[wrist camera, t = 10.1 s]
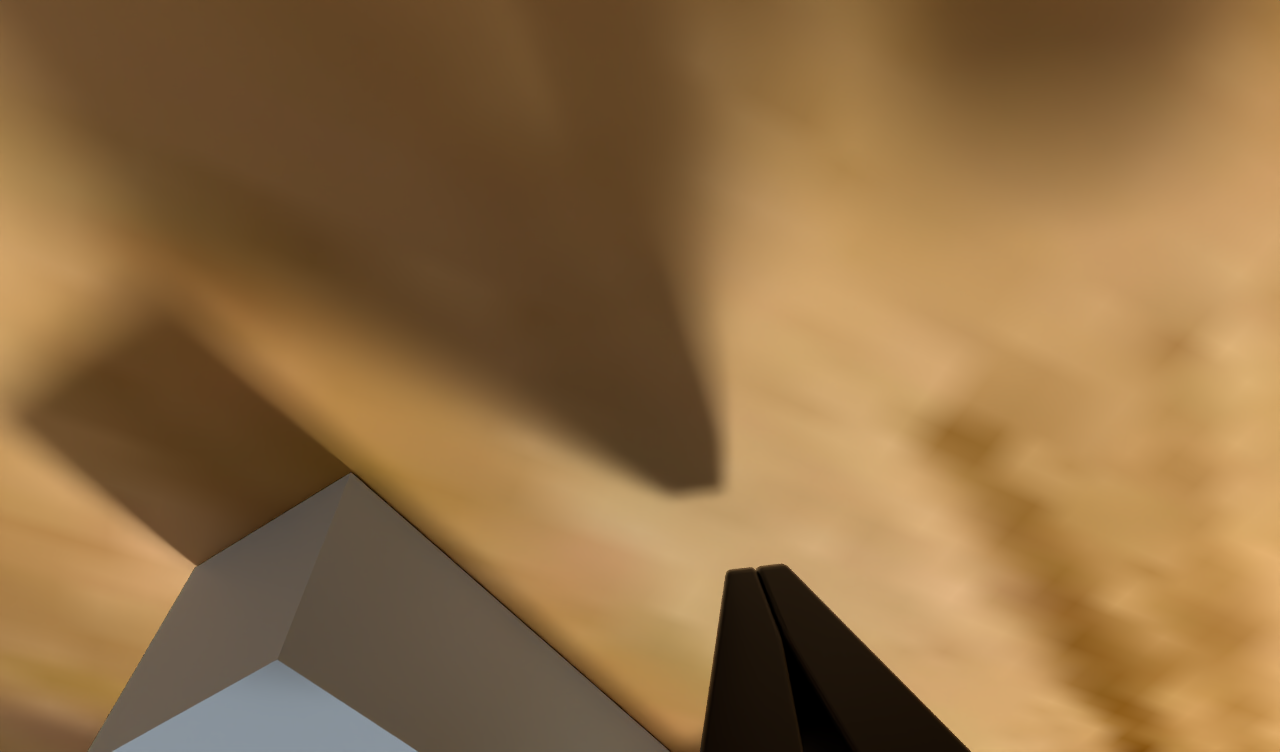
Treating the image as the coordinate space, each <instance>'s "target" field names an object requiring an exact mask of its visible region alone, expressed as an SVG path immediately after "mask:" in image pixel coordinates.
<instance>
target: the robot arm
mask: <svg viewBox="0 0 1280 752" xmlns="http://www.w3.org/2000/svg"><path fill="white" fill-rule="evenodd" d="M700 752H971V751H970V750H969V749H968V748H967V747H966V746H965V745H964V744H963V743H962V742H961V741H960V740H959V739H958V738H957V737H956V736H955V735H954V734H953V733H952V732H951V731H950V730H949V729H948V728H947V727H946V726H945V725H944V724H943V723H942V722H941V721H940V720H939V719H938V718H937V717H936V716H935V715H934V714H933V713H932V712H931V711H930V710H929V709H928V708H927V707H926V706H925V705H924V704H923V703H922V702H921V701H920V700H919V699H918V698H917V696H916V695H915V694H914V693H913V692H912V691H911V690H910V689H909V688H908V687H907V686H906V685H905V684H904V683H903V682H902V681H901V680H900V679H899V678H898V677H897V676H896V675H895V674H894V673H893V672H892V671H891V670H890V669H889V668H888V667H887V666H886V665H885V664H884V663H883V662H882V661H881V660H880V659H879V658H878V657H877V656H876V655H875V654H874V653H873V652H872V651H871V650H870V649H869V648H868V647H867V646H866V645H865V644H864V643H863V642H862V641H861V640H860V639H859V638H858V637H857V636H856V635H855V634H854V633H853V632H852V631H851V630H850V629H849V628H848V627H847V626H846V625H845V624H844V623H843V622H842V621H841V620H840V619H839V618H838V617H837V616H836V615H835V614H834V613H833V612H832V611H831V610H830V609H829V608H828V607H827V606H826V605H825V604H824V603H823V602H822V601H821V600H820V599H819V598H818V596H817V595H816V594H815V593H814V592H813V591H812V590H811V589H810V588H809V587H808V586H807V585H806V584H805V583H804V582H803V581H802V580H801V579H800V578H799V577H798V576H797V575H796V574H795V573H794V572H793V571H792V570H791V569H790V568H789V567H788V566H786V565H784V564H774V565H766V566H760V567H758V568H757V569H756V570H755V569H754V568H751V567H749V568H740V569H732V570H728V571H727V573H726V576H725V582H724V589H723V596H722V603H721V609H720V616H719V623H718V630H717V637H716V644H715V651H714V658H713V665H712V672H711V679H710V686H709V693H708V700H707V707H706V714H705V720H704V727H703V734H702V741H701V748H700Z"/></svg>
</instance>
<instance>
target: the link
mask: <svg viewBox="0 0 1280 752" xmlns="http://www.w3.org/2000/svg"><path fill="white" fill-rule="evenodd" d="M87 752H670V751H669V750H668V749H666V748H665V747H664V746H663V745H662V744H661V743H660V742H658V741H657V740H656V739H655V738H654V737H653V736H652V735H650V734H649V733H648V732H647V731H646V730H645V729H644V728H642V727H641V726H640V725H639V724H638V723H637V722H636V721H634V720H633V719H632V718H631V717H630V716H629V715H628V714H626V713H625V712H624V711H623V710H622V709H621V708H620V707H618V706H617V705H616V704H615V703H614V702H613V701H612V700H610V699H609V698H608V697H607V696H606V695H605V694H604V693H603V692H601V691H600V690H599V689H598V688H597V687H596V686H595V685H593V684H592V683H591V682H590V681H589V680H588V679H587V678H585V677H584V676H583V675H582V674H581V673H580V672H579V671H577V670H576V669H575V668H574V667H573V666H572V665H571V664H569V663H568V662H567V661H566V660H565V659H564V658H563V657H561V656H560V655H559V654H558V653H557V652H556V651H555V650H553V649H552V648H551V647H550V646H549V645H548V644H547V643H545V642H544V641H543V640H542V639H541V638H540V637H539V636H537V635H536V634H535V633H534V632H533V631H532V630H531V629H529V628H528V627H527V626H526V625H525V624H524V623H523V622H521V621H520V620H519V619H518V618H517V617H516V616H515V615H513V614H512V613H511V612H510V611H509V610H508V609H507V608H505V607H504V606H503V605H502V604H501V603H500V602H499V601H497V600H496V599H495V598H494V597H493V596H492V595H491V594H489V593H488V592H487V591H486V590H485V589H484V588H483V587H481V586H480V585H479V584H478V583H477V582H476V581H475V580H473V579H472V578H471V577H470V576H469V575H468V574H467V573H465V572H464V571H463V570H462V569H461V568H460V567H459V566H457V565H456V564H455V563H454V562H453V561H452V560H451V559H449V558H448V557H447V556H446V555H445V554H444V553H443V552H442V551H440V550H439V549H438V548H437V547H436V546H435V545H434V544H432V543H431V542H430V541H429V540H428V539H427V538H426V537H424V536H423V535H422V534H421V533H420V532H419V531H418V530H416V529H415V528H414V527H413V526H412V525H411V524H410V523H408V522H407V521H406V520H405V519H404V518H403V517H402V516H400V515H399V514H398V513H397V512H396V511H395V510H394V509H392V508H391V507H390V506H389V505H388V504H387V503H386V502H384V501H383V500H382V499H381V498H380V497H379V496H378V495H376V494H375V493H374V492H373V491H372V490H371V489H370V488H368V487H367V486H366V485H365V484H364V483H363V482H362V481H360V480H359V479H358V478H357V477H356V476H355V475H354V474H352V473H349V474H347V475H346V476H344V477H343V478H341V479H339V480H338V481H336V482H334V483H333V484H331V485H329V486H328V487H326V488H325V489H323V490H321V491H320V492H318V493H316V494H315V495H313V496H311V497H310V498H308V499H307V500H305V501H303V502H302V503H300V504H298V505H297V506H295V507H294V508H292V509H290V510H289V511H287V512H285V513H284V514H282V515H280V516H279V517H277V518H276V519H274V520H272V521H271V522H269V523H267V524H266V525H264V526H262V527H261V528H259V529H258V530H256V531H254V532H253V533H251V534H249V535H248V536H246V537H244V538H243V539H241V540H240V541H238V542H236V543H235V544H233V545H231V546H230V547H228V548H226V549H225V550H223V551H222V552H220V553H218V554H217V555H215V556H213V557H212V558H210V559H208V560H207V561H205V562H204V563H202V564H200V565H199V566H197V567H195V568H194V570H193V571H192V573H191V575H190V577H189V578H188V580H187V582H186V583H185V585H184V587H183V589H182V590H181V592H180V594H179V595H178V597H177V599H176V601H175V602H174V604H173V606H172V607H171V609H170V611H169V613H168V614H167V616H166V618H165V619H164V621H163V623H162V625H161V626H160V628H159V630H158V631H157V633H156V635H155V637H154V638H153V640H152V642H151V643H150V645H149V647H148V649H147V650H146V652H145V654H144V655H143V657H142V659H141V661H140V662H139V664H138V666H137V667H136V669H135V671H134V673H133V674H132V676H131V678H130V679H129V681H128V683H127V685H126V686H125V688H124V690H123V691H122V693H121V695H120V697H119V698H118V700H117V702H116V703H115V705H114V707H113V709H112V710H111V712H110V714H109V715H108V717H107V719H106V721H105V722H104V724H103V726H102V727H101V729H100V731H99V733H98V734H97V736H96V738H95V739H94V741H93V743H92V744H91V746H90V748H89V750H88V751H87Z"/></svg>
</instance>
